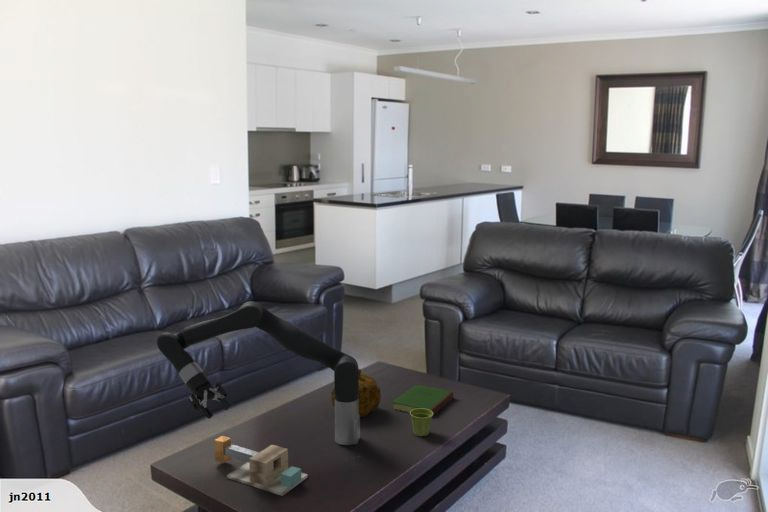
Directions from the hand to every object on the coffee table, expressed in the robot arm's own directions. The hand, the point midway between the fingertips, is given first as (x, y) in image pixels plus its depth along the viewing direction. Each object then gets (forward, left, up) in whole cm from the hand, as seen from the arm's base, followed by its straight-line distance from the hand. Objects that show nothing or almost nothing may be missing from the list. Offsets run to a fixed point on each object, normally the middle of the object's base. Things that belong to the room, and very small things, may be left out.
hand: (219, 412), depth 229 cm
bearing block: (-22, +10, -18) cm, 30 cm away
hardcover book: (-67, -65, -19) cm, 96 cm away
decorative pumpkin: (-40, -50, -18) cm, 67 cm away
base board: (-22, +10, -18) cm, 30 cm away
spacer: (-28, +12, -15) cm, 34 cm away
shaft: (-11, +6, -17) cm, 21 cm away
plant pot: (-70, -34, -18) cm, 80 cm away
